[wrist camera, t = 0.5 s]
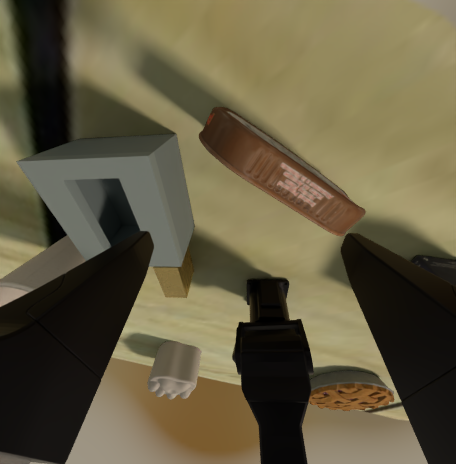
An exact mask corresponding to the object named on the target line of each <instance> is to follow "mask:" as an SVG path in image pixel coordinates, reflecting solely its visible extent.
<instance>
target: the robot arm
mask: <svg viewBox="0 0 456 464" xmlns="http://www.w3.org/2000/svg"><path fill="white" fill-rule="evenodd" d="M153 250H154V243H153V240H152V237H151V234H150V232H149V231H139V232H137V233H135V234H133V235H132V236H130V237H128V238H126V239H125V240H123V241H121V242H119V243H117V244H116V245H114V246H112V247H110V248H109V249H107V250H105V251H103V252H101V253H100V254H98V255H96V256H94V257H92V258H91V259H89V260H87V261H85V262H84V263H82V264H80V265H78V266H76V267H75V268H73V269H71V270H69V271H68V272H66V273H64V274H62V275H60V276H59V277H57V278H55V279H53V280H51V281H50V282H48V283H46V284H44V285H42V286H40V287H38V288H37V289H35V290H33V291H31V292H29V293H27V294H25V295H23V296H21V297H19V298H17V299H15V300H13V301H11V302H9V303H7V304H5V305H3V306H1V307H0V464H29V463H30V462H38V463H47V464H65V462H66V460H67V459H68V456H69V454H70V452H71V450H72V447H73V445H74V443H75V440H76V438H77V436H78V433H79V431H80V429H81V426H82V424H83V422H84V419H85V417H86V414H87V412H88V410H89V408H90V405H91V403H92V401H93V398H94V396H95V394H96V391H97V389H98V387H99V384H100V382H101V378H102V377H103V375H104V372H105V370H106V367H107V365H108V363H109V360H110V358H111V356H112V354H113V351H114V349H115V347H116V344H117V342H118V340H119V337H120V335H121V333H122V330H123V328H124V326H125V323H126V321H127V319H128V316H129V314H130V312H131V309H132V307H133V305H134V302H135V300H136V298H137V295H138V293H139V291H140V288H141V286H142V284H143V281H144V279H145V276H146V274H147V270H148V267H149V264H150V260H151V257H152V254H153ZM341 255H342V258H343V261H344V265H345V268H346V272H347V275H348V278H349V281H350V284H351V286H352V289H353V291H354V293H355V296H356V298H357V300H358V303H359V305H360V307H361V309H362V312H363V314H364V316H365V319H366V321H367V323H368V326H369V328H370V330H371V333H372V335H373V337H374V339H375V342H376V344H377V346H378V349H379V351H380V353H381V356H382V358H383V360H384V363H385V365H386V367H387V369H388V372H389V374H390V376H391V379H392V381H393V383H394V386H395V388H396V390H397V393H398V395H399V397H400V399H401V401H402V405H403V407H404V409H405V411H406V414H407V416H408V418H409V421H410V423H411V425H412V427H413V430H414V432H415V435H416V437H417V439H418V441H419V444H420V446H421V448H422V451H423V453H424V455H425V457H426V460H427V462H428V464H456V286H454V285H451V284H450V283H449V282H447V281H445V280H443V279H441V278H439V277H438V276H436V275H434V274H432V273H430V272H428V271H426V270H425V269H423V268H421V267H419V266H417V265H415V264H414V263H412V262H410V261H408V260H406V259H404V258H402V257H401V256H399V255H397V254H395V253H393V252H391V251H389V250H388V249H386V248H384V247H382V246H380V245H378V244H377V243H375V242H373V241H371V240H369V239H367V238H365V237H364V236H362V235H360V234H358V233H348V234H347V235H346V236H345V239H344V241H343V244H342V246H341ZM288 288H289V281H288V280H247V305H250V322H246V323H243V322H239V325H238V328H237V332H236V343H235V347H234V351H233V355H232V358H233V361H234V362H235V363H236V367H237V372H238V374H239V375H241V385H242V391H243V393H244V396H245V398H246V400H247V401H248V404H249V406H250V408H251V410H252V412H253V414H254V416H255V418H256V420H257V422H258V425H259V438H260V456H261V464H307V458H306V452H305V446H304V439H303V433H302V423H303V420H304V416H305V412H306V409H307V405H308V402H309V398H310V395H311V383H310V378H309V374H314V371H313V363H312V357H311V352H310V348H309V344H308V341H307V338H306V334H305V331H304V328H303V324H302V321H301V319H297V320H290V319H289V313H288V308H287V303H286V298H287V293H288Z"/></svg>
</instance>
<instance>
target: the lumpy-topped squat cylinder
mask: <svg viewBox="0 0 456 464" xmlns="http://www.w3.org/2000/svg"><path fill="white" fill-rule="evenodd" d="M200 358H201V350H200V349H199V348H197V347H195V346H190V345H185V344H182V343H179V342H176V341H167V342H164V343H163V344H162V345H161V346H160V347H159V349H158V352H157V355H156V358H155V361H154V364H153V367H152V370H151V374H150V377H149V380H148V389H149V391H151V392H154V391H155V392H156V396H158V397H161V396H162V395H163V394H167V397H168V398H169V399H173V398H175V396H176V395H179V394H180V396H181V398H184V399H185V398H187V397H188V396H189V395H190V393H191V391H192V390H193V389H194V388H195V387H196V383H197V377H198V371H199V365H200Z"/></svg>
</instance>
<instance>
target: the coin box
mask: <svg viewBox="0 0 456 464" xmlns="http://www.w3.org/2000/svg"><path fill="white" fill-rule="evenodd" d="M16 162H17V163H18V165H19V166H20V168H21V169H22V171H23V172H24V173H25V175H26V176H27V178H28V179H29V181H30V182H31V183H32V185H33V186H34V188H35V189H36V191H37V192H38V193H39V195H40V196H41V198H42V199H43V200H44V202H45V203H46V205H47V206H48V208H49V209H50V210H51V212H52V213H53V215H54V216H55V218H56V219H57V220H58V222H59V223H60V225H61V226H62V228H63V229H64V230H65V232H66V233H67V235H68V236H69V238H70V239H71V240H72V242H73V243H74V245H75V246H76V248H77V249H78V250H79V252H80V253H81V255H82V256H83V258H84V259H85V260H86V261H87V260H89V259H91V258H92V257H94V256H96V255H98V254H100V253H101V252H103V251H105V250H107V249H109V248H110V247H112V246H114V245H116V244H117V243H119V242H121V241H123V240H125V239H126V238H128V237H130V236H132V235H133V234H135V233H137V232H139V231H149V232H150V234H151V237H152V240H153V243H154V250H153V254H152V257H151V260H150V264H149V266H159V267H181V266H182V263H183V260H184V257H185V254H186V251H187V248H188V245H189V242H190V239H191V236H192V233H193V230H194V227H195V225H194V220H193V215H192V210H191V205H190V200H189V195H188V190H187V185H186V180H185V175H184V170H183V165H182V160H181V155H180V150H179V145H178V140H177V135H176V134H162V135H143V136H123V137H104V138H85V139H78V140H75V141H72V142H69V143H66V144H64V145H61V146H58V147H55V148H52V149H50V150H47V151H44V152H41V153H39V154H36V155H33V156H30V157H27V158H25V159H22V160H19V161H16Z"/></svg>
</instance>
